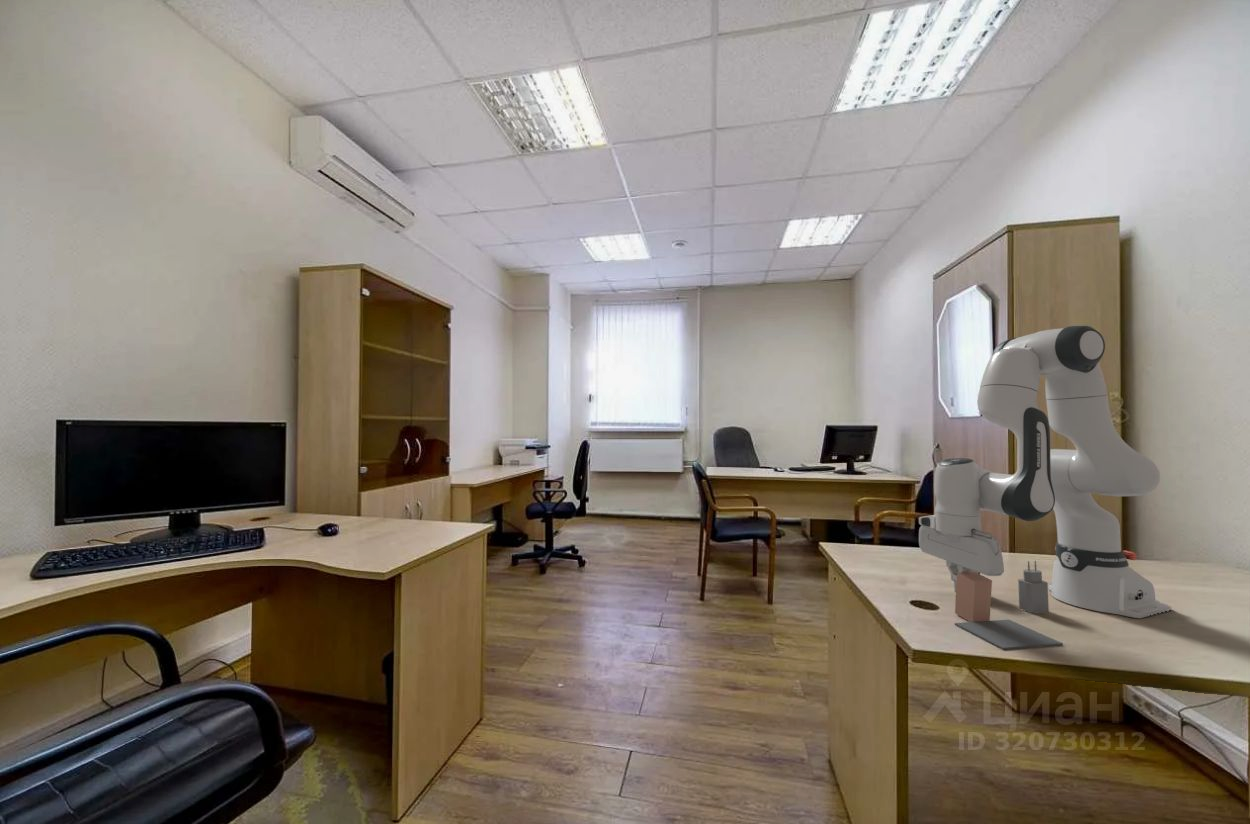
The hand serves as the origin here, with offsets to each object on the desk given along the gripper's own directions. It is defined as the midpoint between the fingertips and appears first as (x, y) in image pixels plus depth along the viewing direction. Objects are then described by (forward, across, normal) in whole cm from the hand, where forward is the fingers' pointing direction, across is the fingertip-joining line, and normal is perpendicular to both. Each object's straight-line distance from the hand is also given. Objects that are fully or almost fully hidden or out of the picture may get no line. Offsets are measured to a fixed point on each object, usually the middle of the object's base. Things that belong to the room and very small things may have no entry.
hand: (958, 582), depth 104 cm
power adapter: (+7, -1, -20) cm, 21 cm away
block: (+7, -3, 0) cm, 8 cm away
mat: (+7, -11, -1) cm, 13 cm away
